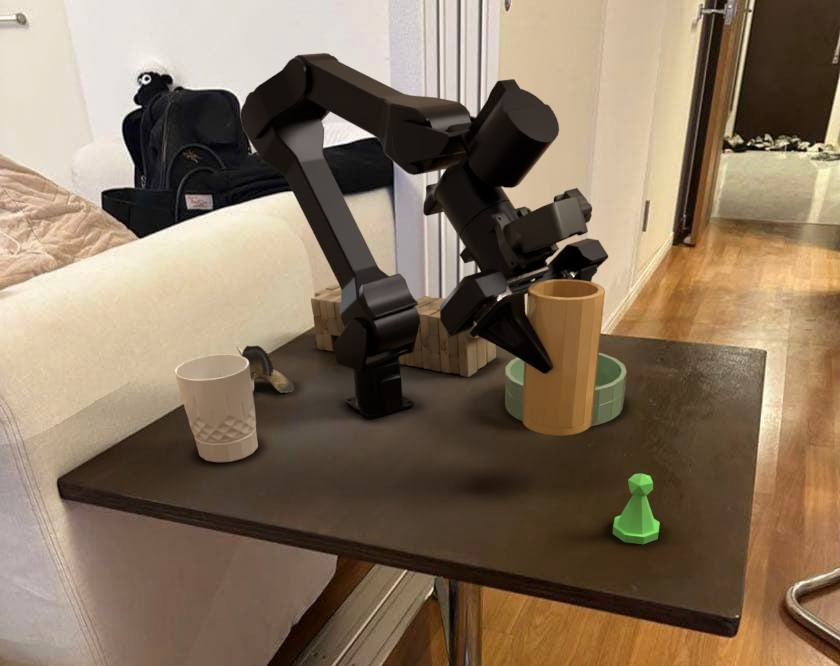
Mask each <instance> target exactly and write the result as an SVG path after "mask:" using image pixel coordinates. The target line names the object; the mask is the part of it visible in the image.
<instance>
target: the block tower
mask: <svg viewBox="0 0 840 666" xmlns="http://www.w3.org/2000/svg"><path fill="white" fill-rule="evenodd" d="M446 298H447V297H445V298H444V297H441V298H440V297H432V296H430V295H429V296H428V295H423V296H422V297H419V298H416V299H415V300H416V301H417V302H418V305H416V306H415V307H416V309H417V311H418V313H419V317H420V324H419V328H418V334H417V337H416V342H415V346H414V351H413V353H410V354H409V353H408V354H405V355H403V356H400V357H399V361H400V365H403V366H405V365H406V366H407V367H408V366H409V367H416V368H421V369H422V368H423V369H427V370H432V371H434V372H441V373H445V374H451V373H452V374H455V375H459V374H460V377H466V378H469V377H471V376H472V375H474V374H476V373H477V372H478V370H480V369H481V368H483V367H485V366H486V365H487V364H488V363H490V362H492V361H493V360H494V359H496V358H497V345H495V344H493V343H491V342H489V341H487V340H485V339H483V338H481V337H479V336H476V337H472V336H471V335H470V331H471V330H472V329H473V328H474V327H475V326H476V325H477V324H476V322H475V321H474V325H473V327H472V328H471V329H470V330H468V331H465V332H462V333H460V334H457V335H454V336H450V335H449V333H448V332H447V330H446V328H445V327H444V325H443V324H442V322H441V320H440V305H441V304H442V303H443V302H444V301H445V299H446ZM310 304H311V310H312V315H313V326H314V331H315V339H316V346H317V349H318V350H322V351H328V352H334V351H333V348H332V346H333V344H334V343H335V342H336V340H337V339H338V337H339V336H340V334H341V333H342V331H343V330H344V328H345V327H344V325H343V322H342V320H341V317H340V307H341V288H340V285H339V284H337V283H336V284H332V285H330V286H327V287H325V288H324V289H321V290H318V291H316V292H314V296H313V297H311V298H310Z"/></svg>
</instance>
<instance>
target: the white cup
mask: <svg viewBox="0 0 840 666" xmlns="http://www.w3.org/2000/svg"><path fill="white" fill-rule="evenodd" d="M174 374H175V377H176V381H177V385H178V388H179V392H180V396H181V400H182V403H183V407H184V410H185V414H186V417H187V420H188V424H189V427H190V430H191V433H192V434H193V437H194V441H195V444H196V449H197V452H198V455H199V457H200V458H202V459H203V460H205V461H207V462H213V463H231V462H235V461H239V460H243V459H245V458H247V457H249V456H251V455H253V454H254V453H255V451H256V450H257V449H258V448H259V443H258V441H259V440H258V436H257V426H256V425H257V418H256V405H255V399H254V391H253V389H252V382H251V373H250V365H249V361H248V359H246V358H245V357H242V355H238V354H231V353H215V354H209V355H202V356H198V357H195V358H191V359H189V360H186V361H184V362H183V363H181V364H179V365H178V366H177V367H176V368H175V371H174Z"/></svg>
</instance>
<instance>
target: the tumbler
mask: <svg viewBox="0 0 840 666" xmlns="http://www.w3.org/2000/svg"><path fill="white" fill-rule="evenodd" d="M526 296H527V298H526V300H527V302H526V316H527V318H528V319H529V321H530V323H531V325H532V327H533V328H534V330H535V332H536V334H537V335H538V337H539V339H540V341H541V343H542V344H543V346H544V348H545V350H546V352H547V354H548V356H549V358H550V360H551V363H552V365H553V369H552V370H551V371H549V372H548V373H546V374H544V373H542V372H540V371H539V370H537V369H535V368H534V367H532V366H531V365H529V364H527V363H526V362H524V380H523V401H522V421H521V422H522V424H523V425H524V427H526V428H527V429H529V430H531V432H532V431H533V432H535V433H538V434H541V435H547V436H555V437H556V436H558V437H560V436H561V437H562V436H573V435H576V434H577V435H578V434H581V433H583V432H585V431H587V430H588V429H590V428H591V427H590V425H591V422H592V415H593V407H594V397H595V387H596V377H597V367H598V357H599V353H600V348H601V335H602V325H603V314H604V305H605V296H606V289H605V288H604V287H603V285H601V284H599V283H596V282H593V281H591V282H589V281H583V280H573V279H554V280H546V281H540V282H537V283H534V284H532V285H530V287H529V288H528V293H527V294H526ZM599 347H600V348H599Z"/></svg>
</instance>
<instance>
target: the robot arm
mask: <svg viewBox="0 0 840 666" xmlns="http://www.w3.org/2000/svg"><path fill="white" fill-rule="evenodd" d="M330 113H332V114H334V115H335V116H337V117H339V118H341V119H343V120H345V121H346V122H348V123H350V124H352V125H354V126H355V127H358V128H359V129H361V130H363V131H365V132H367V133H369V134H370V135H372V136H374V137H375V138H376V139H377V140H378V141H380V144H381V147H382V150H383V153H384V154H385V156H386V157H388V158H389V159H390V160H391V161H392V162H393V163H395V164H396V165H397V166H398V167H399V168H400V169H401V170H403V171H404V172H405V173H407V174H409V175H412V176H416V175H417V176H419V175H423V174H428V173H433V172H437V171H442V170H444V171H443V173H442V175H441V176H440V177H439V179H438V180H437V182H436V183H435V182H434V183H431V184H427V185H426V186H425V198H424V201H423V207H422V208H423V209H422V213H423V215H424V216H425V217H428V216H432V215H436V214H441V213H444V215H445V216H446V218H447V220H448V221H449V223H450V225H451V226H452V228H453V230H454V231H455V232H456V234H457V236H458V237H459V239H460V241H461V243H462V244H463V246H464V249H462V251H461V252H460V253H459V257H460V258H461V261H462V263H464V264H468V263H471V262H472V263H473V262H475V265H476V266H477V268H478V269H479V271H478V272H475V273H472V274H469V275H465V276H463V277H462V279H461V280H460V281H459V282H458V284H457V285H456V286H455V287H454V289H453V290H451V292H450V293H449V294H448V295H447V297H445V298H446V299H445V301H444V302H443V303H442V304H441V305H440V320H441V322H442V324H443V325H444V327H445V328H446V330H447V332H448V333H449V335H450V336H454V335H457V334H460V333H462V332H465V331H468V330H470V329H471V328H472V327H473V325H474V321H475V322H476V324H477V325H476V326H475V327H474V328H473V329H472V330H471V331H470V335H471V336H472V337H476V336H479V337H481V338H483V339H485V340H487V341H489V342H491V343H493V344H495V345H496V347H498V348H500V349H503V350H504V351H506V352H508V353H509V354H511V355H512V356H514V357H515V358H517V357H518V358H519V359H521V360H522V361H524V362H526V363H527V364H529V365H531V366H532V367H534V368H535V369H537V370H539V371H540V372H542V373H544V374H546V373H548V372H549V371H551V370H552V369H553V365H552V363H551V360H550V358H549V356H548V354H547V352H546V350H545V348H544V346H543V344H542V343H541V341H540V339H539V337H538V335H537V334H536V332H535V330H534V328H533V327H532V325H531V323H530V321H529V319H528V318H527V312H526V295H528V288H529V287H530V285H532V284H534V283H537V282H540V281H546V280H554V279H573V280H583V281H589V282H593V281H592V280H593V277H594V276H595V275H596V274H597V272H598V269H599V267H600V266H601V265H602V264H603V263H605V262H606V261H607V260H608V259H609V254H608V253H607V251H606V249H605V248H604V246H603V245H602V244H601V242H600V240H599V239H595V238H588V237H587V238H584V239H581V240H578V241H575V242H570V243H568V244H566V245H565V246H564V247H563V248H562V249H561V250H560V247H559V245H558V243H561V242H562V241H565V240H567V239H569V238H572V237H575V236H578V237H580V236H583V235H585V234H588V232H589V230H588V226H587V223H589V222H590V221H591V219H592V215H593V214H592V212H593V206H592V204H591V203H589V200H588V199H587V198H586V197H585V196H584V194H583V193H582V192H581V190H579V188H578V187H575V188H572V189H571V188H570V189H567V190H564V192H563V193H559V194H557V195H555V196H554V197H553V201H552V202H549V203H546V204H545V205H542V206H540V207H538V208H536V209H534V210H532V209H530V208H529V207H527V206H521V207H517V208H515V206H514V204H513V203H512V201H511V200H510V198H509V196H508V195H507V194H506V192H505V190H504V189H503V188H505V189H512V188H516V187H517V186H519V185H520V184H521V183H522V182H523V180H524V179H525V178H526V177H527V175H528V174H529V173H530V172H531V170H532V169H533V167H535V165H536V164H537V163H538V161H539V160H540V159H541V157H542V156H543V155H545V153H546V151H547V150H548V149H549V148H550V146H552V144H553V142H554V141H555V140H556V139H557V138H558V136H559V133H560V124H559V120H558V117H557V116H556V114H555V112H554V110H553V109H552V108H551V105H549V104H547V103H544V101H543V100H541V99H540V98H539V97H537V96H536V95H535V94H533V93H531V92H530V91H528V90H525V89H523V88H521V87H520V85H519V84H518V82H517V81H516V80H515V79H514V78H509V79H502V80H497V81H496V83H495V84H494V86H493V87H492V88H491V90H490V92H489V94H488V97H487V100H486V101H485V103H484V104H483V105H482V108H481V109H480V111H479V112H478V113H477V115H476V116H473V115H471V111H469V110H468V108H467V107H466V106H465V105H464V104H463V103H462V102H460V101H459V102H458V101H456V100H452V99H451V100H450V99H445V98H440V97H435V96H421V95H411V94H406V93H403V92H401V91H399V90H397V89H395V88H393V87H391V86H389V85H387V84H386V83H383V82H381V81H379V80H377V79H375V78H373V77H371V76H369V75H367V74H365V73H363V72H362V71H359V70H357V69H355V68H352V67H351V66H349V65H347V64H345V63H343V62H341V61H340V60H339V59H338V58H337V57H335V56H334V55H331V54H330V53H326V52H321V53H320V52H319V53H307V54H306V53H305V54H297V55H295V56H294V57H292V58H290V59H289V60H288V61H287V62H286V64H285V66H284V67H283V68H282V69H281V70H280V71H278V72H277V73H276V74H274V75H272V76H271V77H269V78H268V79H266V80H265V81H263V82H262V83H260V84H259V85H258V86H256V87H255V88H254V90H253V91H250V92H249V93H248V94H247V96H246V97H245V100H244V104H243V105H242V106H241V109H240V123H241V124H240V125H241V126H242V130H243V133H245V135H246V137H247V139H248V140H249V142H250V143H251V145H252V147H253V149H255V151H256V153H257V154H258V156H259V158H260V159H261V160H262V161H263V162H265V163H266V164H267V165H268V166H270V167H271V168H273V169H274V170H275V171H277V172H278V173H280V174H281V175H282V176H283V177H284V178H285V179H286V181H287V183H288V185H289V187H290V189H291V192H292V193H293V195H294V197H295V199H296V201H297V203H298V205H299V207H300V209H301V211H302V213H303V215H304V217H305V220H306V221H307V223H308V225H309V227H310V229H311V231H312V233H313V235H314V237H315V239H316V241H317V244H318V246H319V247H320V249H321V251H322V253H323V255H324V257H325V259H326V261H327V263H328V265H329V267H330V269H331V271H332V273H333V275H334V277H335V279H336V282H338V285H340V288H341V307H340V317H341V320H342V322H343V325H344V327H345V328H344V330H343V331H342V333H341V334H340V336H339V337H338V339H337V340H336V342H335V343H334V344H333V346H332V348H333V351H332V352H333V355H334V358H335V360H336V363H337V364H338V365H340V366H343V367H346V368H349V369H351V370H352V373H353V381H354V391H355V396H353V397H349V398H346V399H345V404H346V405H347V406H348V407H350V408H351V409H353V410H355V411H356V412H357V413H359V414H360V415H362V416H363V417H365V418H366V419H369V420H370V419H371V420H372V419H376V418H379V417H382V416H383V417H384V416H386V415H389V414H392V413H396V412H399V411H402V410H403V411H404V410H406V409H409V408H412V407H414V401H412V400H411V399H409V398H407V397H406V396H404V395H403V381H402V374H401V364H400V361H399V357H400V356H403V355H405V354H408V353H409V354H410V353H413V351H414V346H415V342H416V337H417V334H418V328H419V324H420V317H419V313H418V311H417V309H416V307H415V306H416V305H418V302H417V301H416V300H417V299H415V298H414V296H413V295H412V293H411V291H410V288H409V286H408V283H407V281H406V278H405V277H404V276H403V275H402V274H401V273H396V274H393V275H392V274H391V275H388V274H387V273H385V272H384V271H383V270H382V269H380V267H379V266H378V263H377V262H376V259H375V258H374V256H373V254H372V252H371V249H370V248H369V245H368V243H367V242H366V239H365V237H364V235H363V233H362V231H361V230H360V228H359V226H358V224H357V222H356V219H355V217H354V215H353V213H352V212H351V209H350V207H349V205H348V203H347V201H346V199H345V198H344V195H343V193H342V191H341V190H340V187H339V185H338V183H337V181H336V179H335V177H334V175H333V172H332V171H331V169H330V167H329V164H328V163H327V160H326V159H325V156H324V140H325V127H324V124H323V120H325V118H326V117H327V116H328V115H329V114H330ZM559 250H560V251H559ZM558 251H559V252H558ZM557 252H558V253H557ZM556 253H557V254H556ZM555 254H556V255H555ZM554 255H555V256H554ZM553 256H554V258H552V259H551V260H550V262H549V263H548V262H547V260H548V259H549V258H551V257H553ZM600 348H601V346H600V347H599V349H600Z"/></svg>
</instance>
